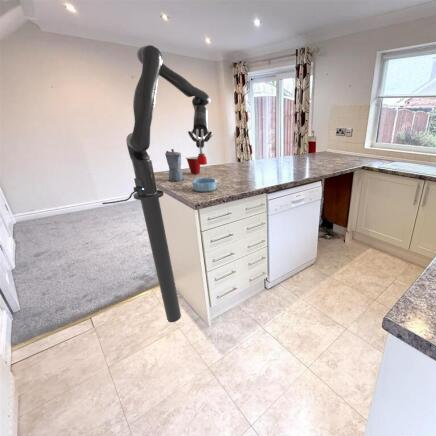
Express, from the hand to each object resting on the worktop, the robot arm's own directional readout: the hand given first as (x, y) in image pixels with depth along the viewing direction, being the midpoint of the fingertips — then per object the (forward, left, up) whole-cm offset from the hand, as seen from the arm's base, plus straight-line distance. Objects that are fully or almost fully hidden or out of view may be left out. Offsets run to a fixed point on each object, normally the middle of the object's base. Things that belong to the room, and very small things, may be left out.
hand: (200, 146), depth 135 cm
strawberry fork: (+2, +1, -10) cm, 10 cm away
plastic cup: (+27, +35, -25) cm, 51 cm away
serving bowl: (+2, +1, -25) cm, 25 cm away
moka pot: (+7, +32, -25) cm, 41 cm away
